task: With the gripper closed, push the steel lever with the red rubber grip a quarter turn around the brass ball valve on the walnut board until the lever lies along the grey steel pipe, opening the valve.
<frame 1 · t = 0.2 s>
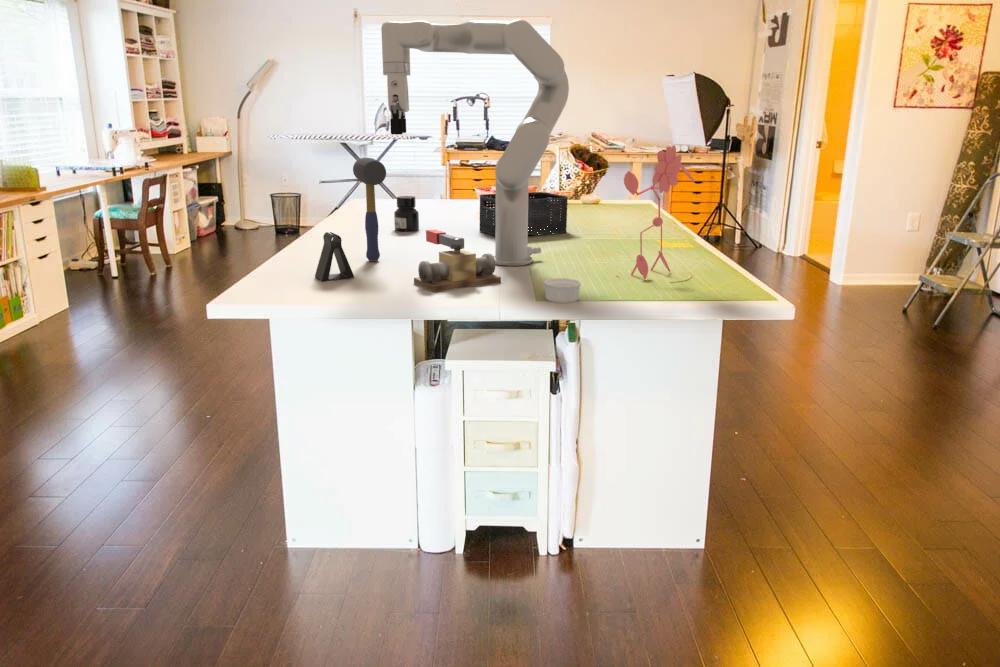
hand: (398, 133, 218), 37 cm above the table, tool pointing down, fingers open, 9 cm apart
rubber mallet: (373, 261, 230), on the table
storage bin: (523, 233, 281), on the table
phone stand: (334, 278, 208), on the table
valve manifold: (457, 282, 203), on the table
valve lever: (445, 239, 205), point 10 cm above the table, hinge at -90.0°
ink bottle: (406, 230, 284), on the table
figurine: (661, 277, 211), on the table
ramekin: (561, 300, 187), on the table
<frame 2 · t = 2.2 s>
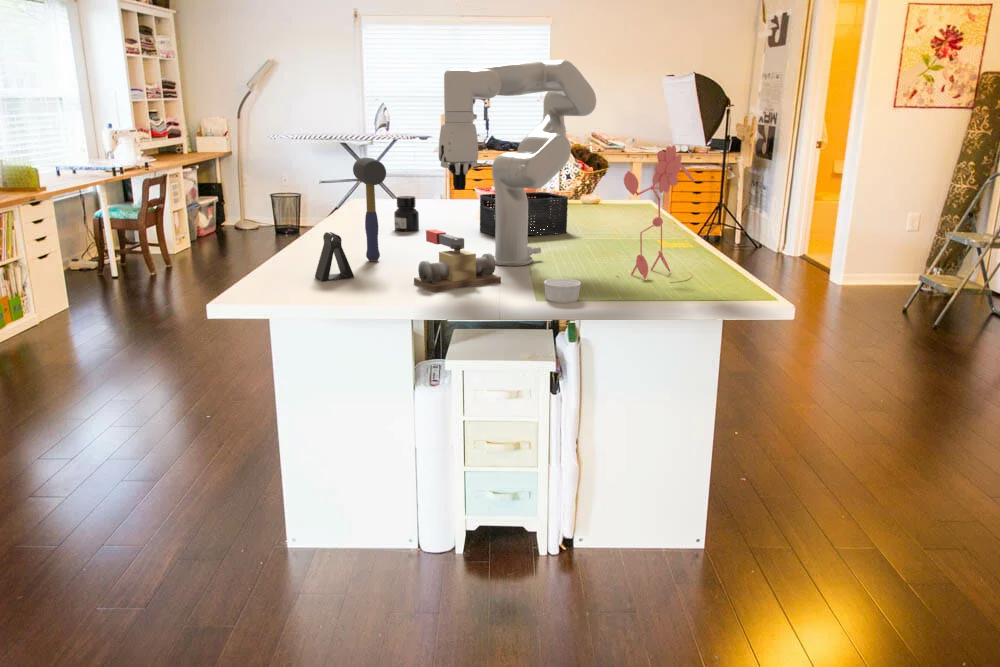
hand: (459, 189, 208), 23 cm above the table, tool pointing down, fingers closed
nothing on the table moved.
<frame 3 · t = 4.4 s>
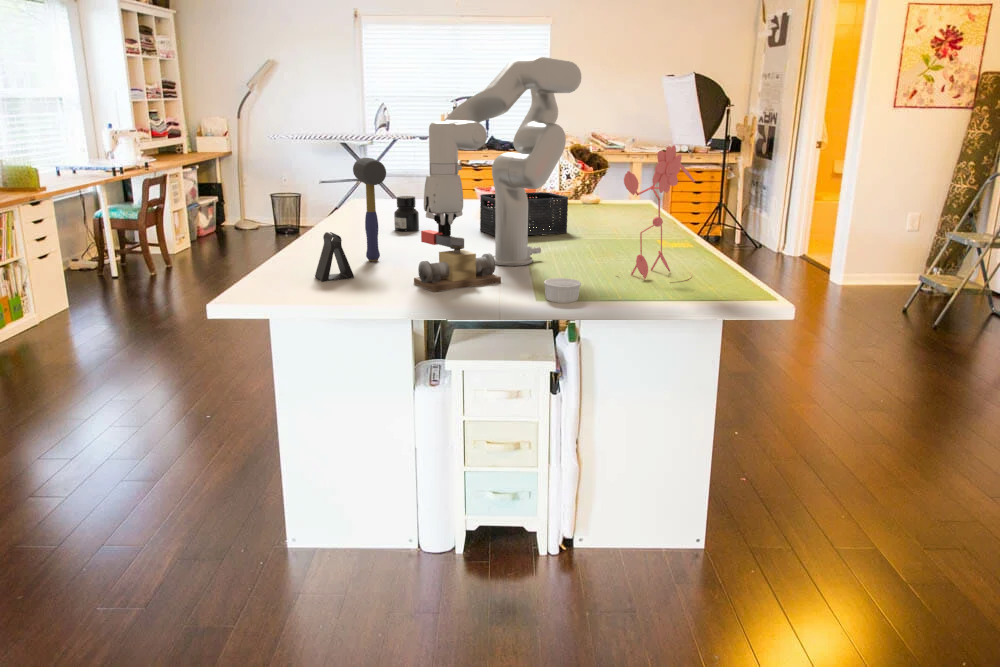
hand: (444, 238, 209), 10 cm above the table, tool pointing down, fingers closed
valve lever: (442, 239, 204), point 10 cm above the table, hinge at -83.4°, touching gripper
everything else where it was.
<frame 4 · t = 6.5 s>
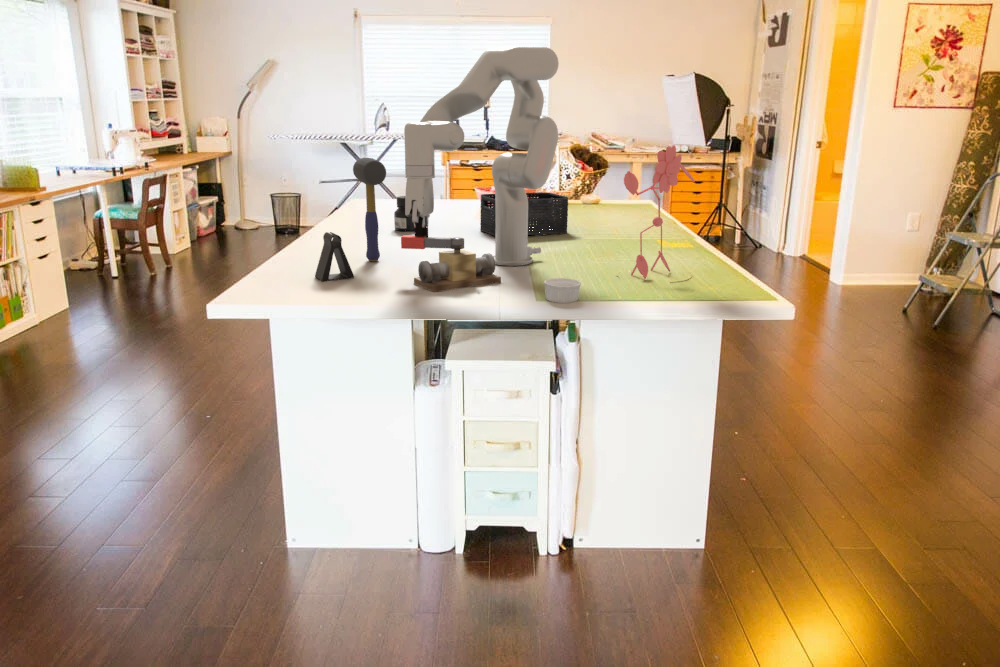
hand: (421, 242, 204), 10 cm above the table, tool pointing down, fingers closed
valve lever: (433, 242, 200), point 10 cm above the table, hinge at -40.5°, touching gripper
everything else where it was.
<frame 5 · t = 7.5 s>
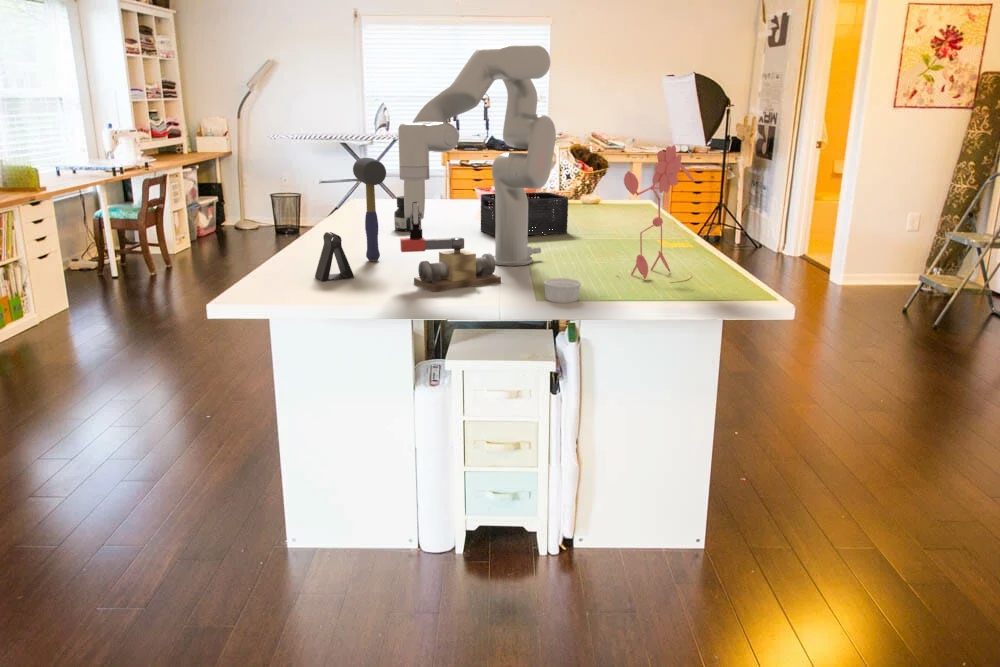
hand: (416, 244, 201), 10 cm above the table, tool pointing down, fingers closed
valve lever: (432, 244, 198), point 10 cm above the table, hinge at -20.6°, touching gripper
everything else where it was.
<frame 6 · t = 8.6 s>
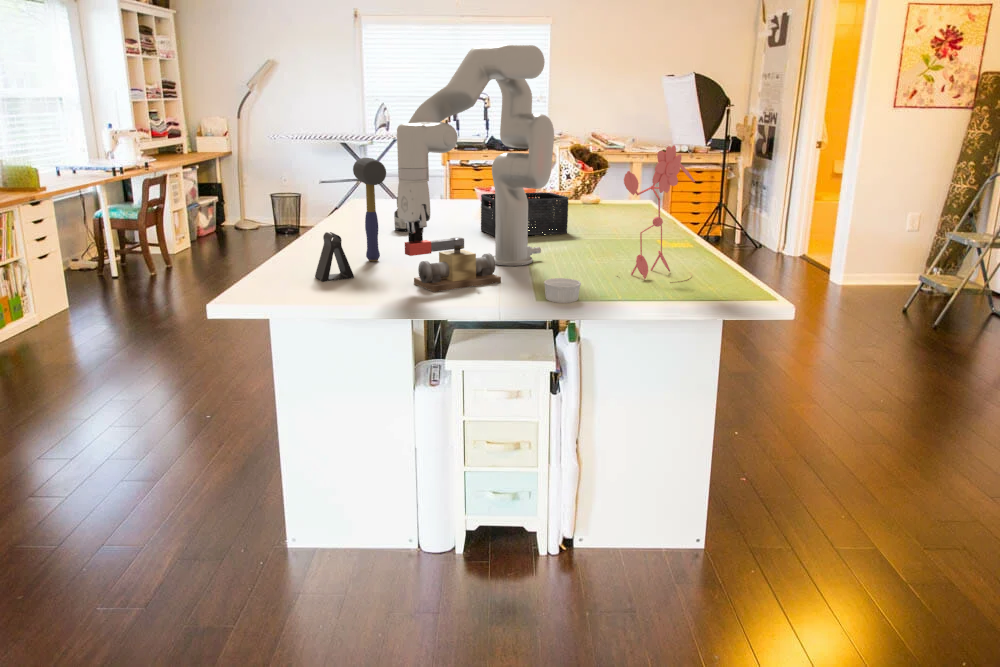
hand: (415, 247, 197), 10 cm above the table, tool pointing down, fingers closed
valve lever: (435, 245, 196), point 10 cm above the table, hinge at 1.5°, touching gripper
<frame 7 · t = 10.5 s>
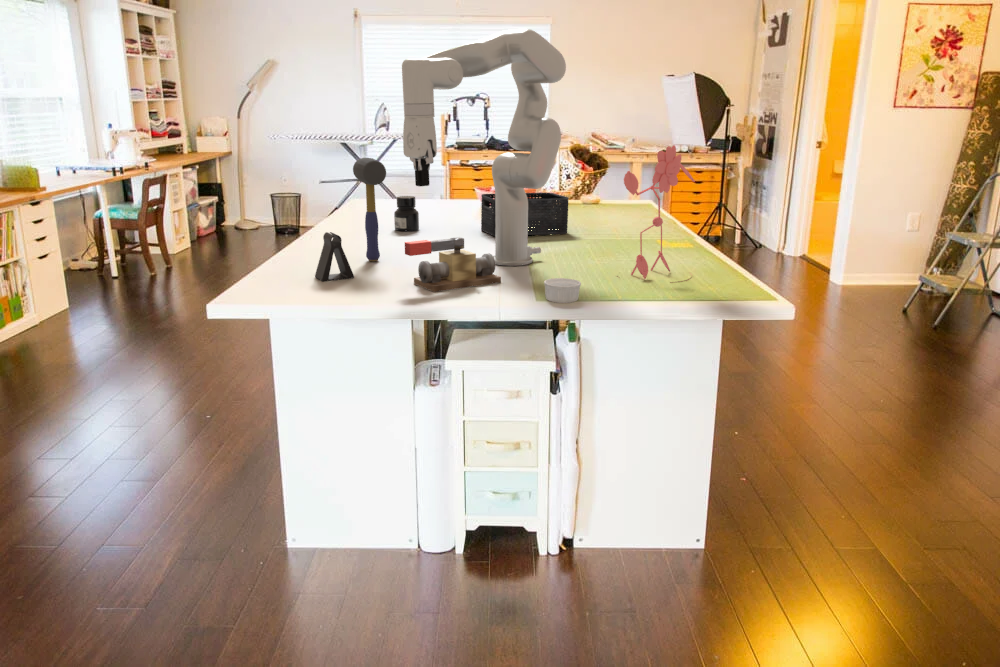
hand: (422, 185, 198), 25 cm above the table, tool pointing down, fingers closed
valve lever: (435, 245, 196), point 10 cm above the table, hinge at 1.5°
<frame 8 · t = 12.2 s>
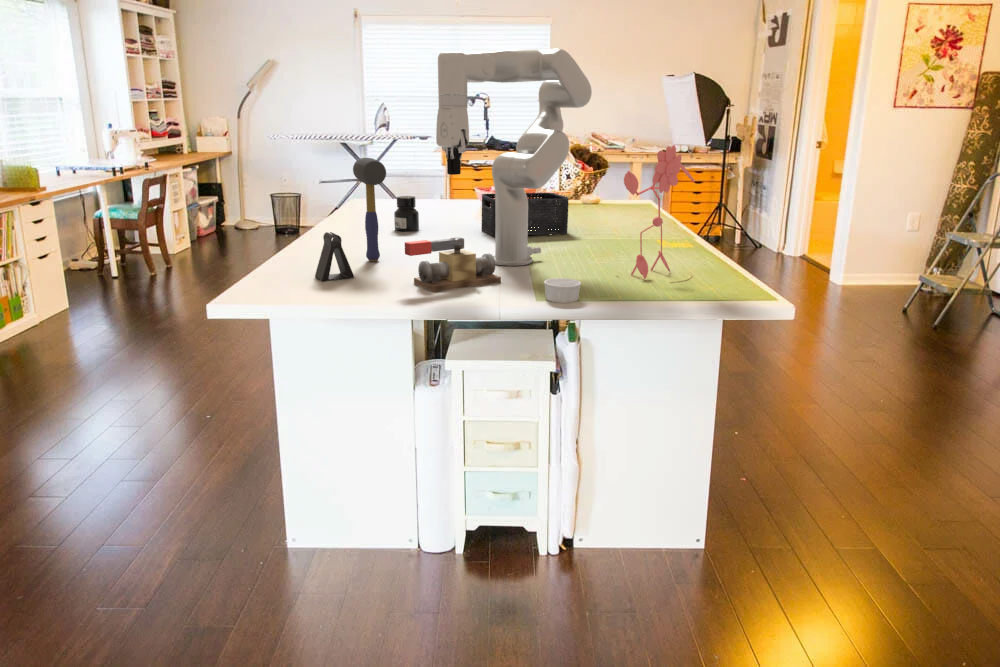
hand: (453, 174, 205), 27 cm above the table, tool pointing down, fingers closed
at the end: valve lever at +2° (first picture: -90°) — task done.
